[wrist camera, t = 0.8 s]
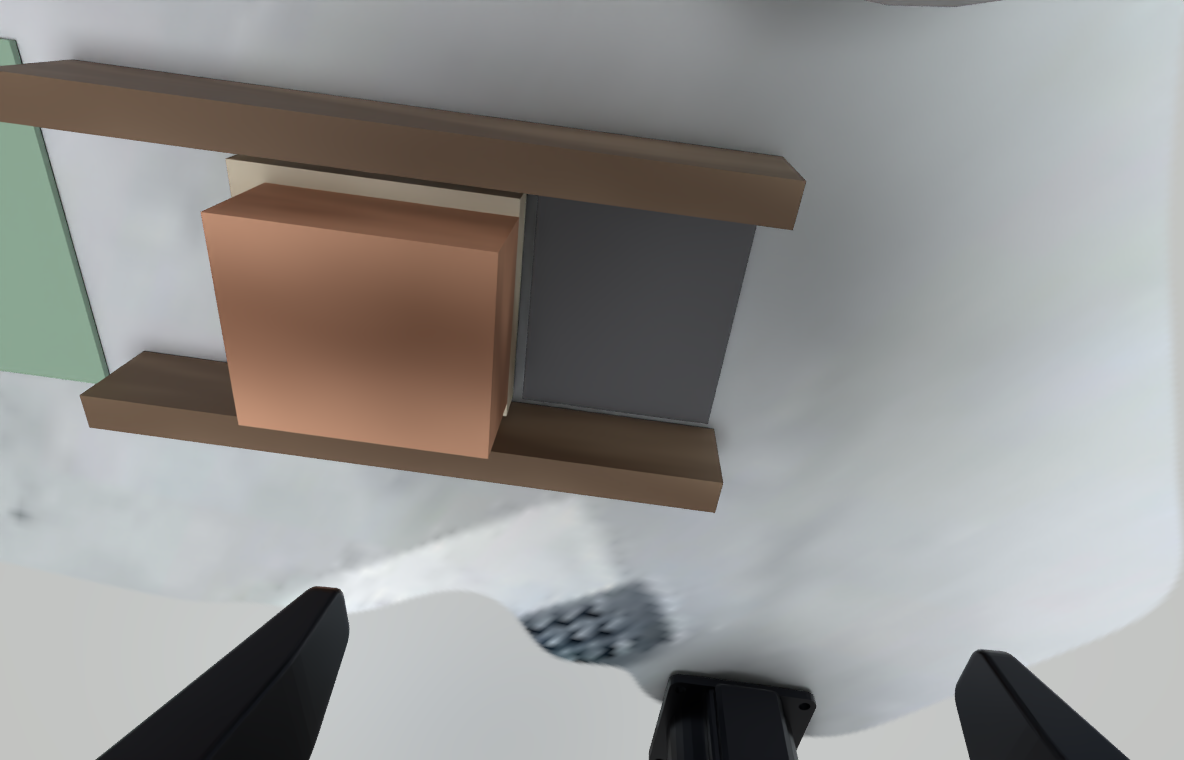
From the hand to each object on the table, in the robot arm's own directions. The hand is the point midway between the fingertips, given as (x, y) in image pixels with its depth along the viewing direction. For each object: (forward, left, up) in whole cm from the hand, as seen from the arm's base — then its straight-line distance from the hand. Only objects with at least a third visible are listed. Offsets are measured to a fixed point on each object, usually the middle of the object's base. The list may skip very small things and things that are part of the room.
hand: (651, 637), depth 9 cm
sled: (-1, +8, -13) cm, 15 cm away
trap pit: (-1, 0, -13) cm, 13 cm away
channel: (-1, +7, -13) cm, 15 cm away
